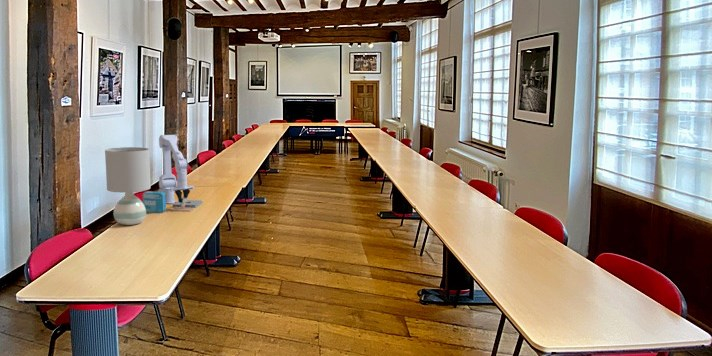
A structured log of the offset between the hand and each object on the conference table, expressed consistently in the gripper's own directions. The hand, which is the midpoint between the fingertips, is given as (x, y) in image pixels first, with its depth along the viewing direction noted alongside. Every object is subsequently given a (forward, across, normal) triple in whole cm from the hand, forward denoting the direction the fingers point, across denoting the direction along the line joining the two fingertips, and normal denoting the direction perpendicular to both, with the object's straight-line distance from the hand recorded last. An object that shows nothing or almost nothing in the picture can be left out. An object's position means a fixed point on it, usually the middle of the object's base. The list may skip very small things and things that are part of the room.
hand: (182, 201), depth 328 cm
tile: (+5, 0, 0) cm, 5 cm away
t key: (+3, 0, 0) cm, 3 cm away
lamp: (+5, -37, -14) cm, 40 cm away
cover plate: (+5, +8, +9) cm, 13 cm away
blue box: (+5, -16, +4) cm, 17 cm away
